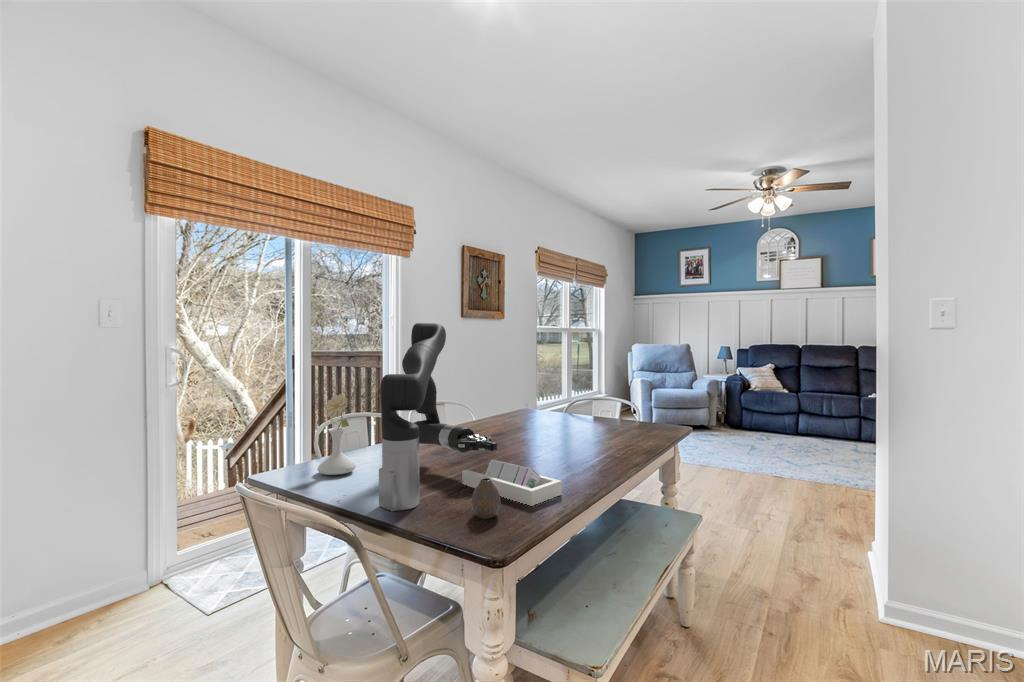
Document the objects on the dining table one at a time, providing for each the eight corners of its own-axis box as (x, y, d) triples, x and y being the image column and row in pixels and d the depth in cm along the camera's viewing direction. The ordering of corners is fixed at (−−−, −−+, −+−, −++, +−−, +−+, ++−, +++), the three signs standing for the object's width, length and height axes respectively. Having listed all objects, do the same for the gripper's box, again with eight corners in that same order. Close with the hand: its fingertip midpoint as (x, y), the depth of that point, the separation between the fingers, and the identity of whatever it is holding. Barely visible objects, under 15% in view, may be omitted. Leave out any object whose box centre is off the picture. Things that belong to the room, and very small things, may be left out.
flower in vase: (311, 472, 154) (311, 393, 154) (347, 466, 162) (346, 390, 162) (327, 482, 145) (327, 397, 144) (364, 474, 152) (364, 393, 152)
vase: (500, 510, 122) (500, 475, 121) (500, 521, 115) (500, 483, 115) (472, 510, 121) (472, 475, 121) (470, 521, 114) (470, 483, 114)
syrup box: (483, 477, 138) (523, 489, 129) (491, 458, 141) (531, 468, 131) (494, 485, 142) (534, 496, 133) (502, 465, 144) (541, 475, 135)
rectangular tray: (531, 507, 124) (531, 491, 124) (462, 484, 143) (462, 470, 143) (561, 495, 132) (561, 480, 132) (492, 475, 151) (492, 462, 151)
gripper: (439, 429, 149) (478, 437, 137) (472, 423, 158) (511, 430, 146) (439, 453, 149) (478, 464, 137) (472, 446, 158) (511, 455, 146)
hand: (495, 447), depth 142 cm, fingers closed
